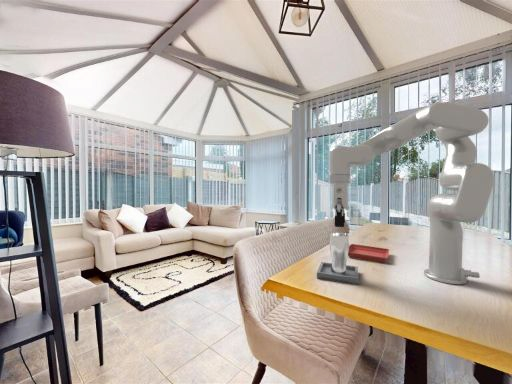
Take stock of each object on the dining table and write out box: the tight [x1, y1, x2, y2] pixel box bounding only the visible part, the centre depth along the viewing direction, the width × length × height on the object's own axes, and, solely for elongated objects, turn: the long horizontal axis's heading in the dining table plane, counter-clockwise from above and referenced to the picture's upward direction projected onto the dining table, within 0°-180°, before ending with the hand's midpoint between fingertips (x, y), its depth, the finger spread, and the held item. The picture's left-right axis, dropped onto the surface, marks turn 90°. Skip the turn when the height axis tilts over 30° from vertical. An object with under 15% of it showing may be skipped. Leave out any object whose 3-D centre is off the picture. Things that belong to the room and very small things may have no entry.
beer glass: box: [329, 232, 350, 276], centre depth 88 cm, size 7×7×15 cm
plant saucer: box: [348, 243, 390, 263], centre depth 113 cm, size 18×18×3 cm
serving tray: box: [316, 261, 359, 286], centre depth 88 cm, size 14×13×2 cm
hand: (340, 224), depth 87 cm, fingers open, 9 cm apart
